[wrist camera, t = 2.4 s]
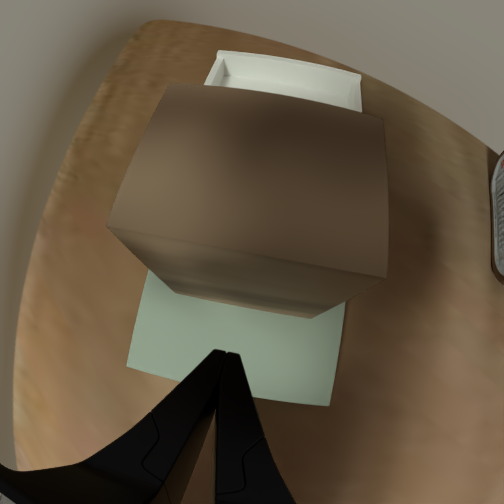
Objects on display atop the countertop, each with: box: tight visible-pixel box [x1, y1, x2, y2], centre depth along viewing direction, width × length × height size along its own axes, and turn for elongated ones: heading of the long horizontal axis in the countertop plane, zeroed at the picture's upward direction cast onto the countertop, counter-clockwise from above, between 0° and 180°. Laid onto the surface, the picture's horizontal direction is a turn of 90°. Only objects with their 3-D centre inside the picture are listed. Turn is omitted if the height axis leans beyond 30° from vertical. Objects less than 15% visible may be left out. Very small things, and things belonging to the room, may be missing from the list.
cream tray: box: [204, 50, 362, 112], centre depth 23 cm, size 9×13×3 cm, turn 79°
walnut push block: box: [106, 83, 389, 319], centre depth 14 cm, size 6×8×10 cm
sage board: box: [127, 269, 346, 406], centre depth 20 cm, size 18×12×2 cm, turn 169°
